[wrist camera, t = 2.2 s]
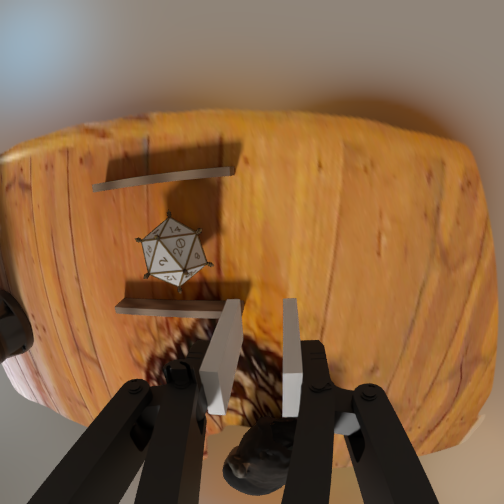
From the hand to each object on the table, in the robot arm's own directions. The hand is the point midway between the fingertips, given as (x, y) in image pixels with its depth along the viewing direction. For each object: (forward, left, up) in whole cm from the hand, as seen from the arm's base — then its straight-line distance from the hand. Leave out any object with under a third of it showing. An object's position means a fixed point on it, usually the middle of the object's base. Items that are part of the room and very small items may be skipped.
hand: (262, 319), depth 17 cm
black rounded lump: (-1, -37, -19) cm, 42 cm away
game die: (-11, 0, -19) cm, 22 cm away
